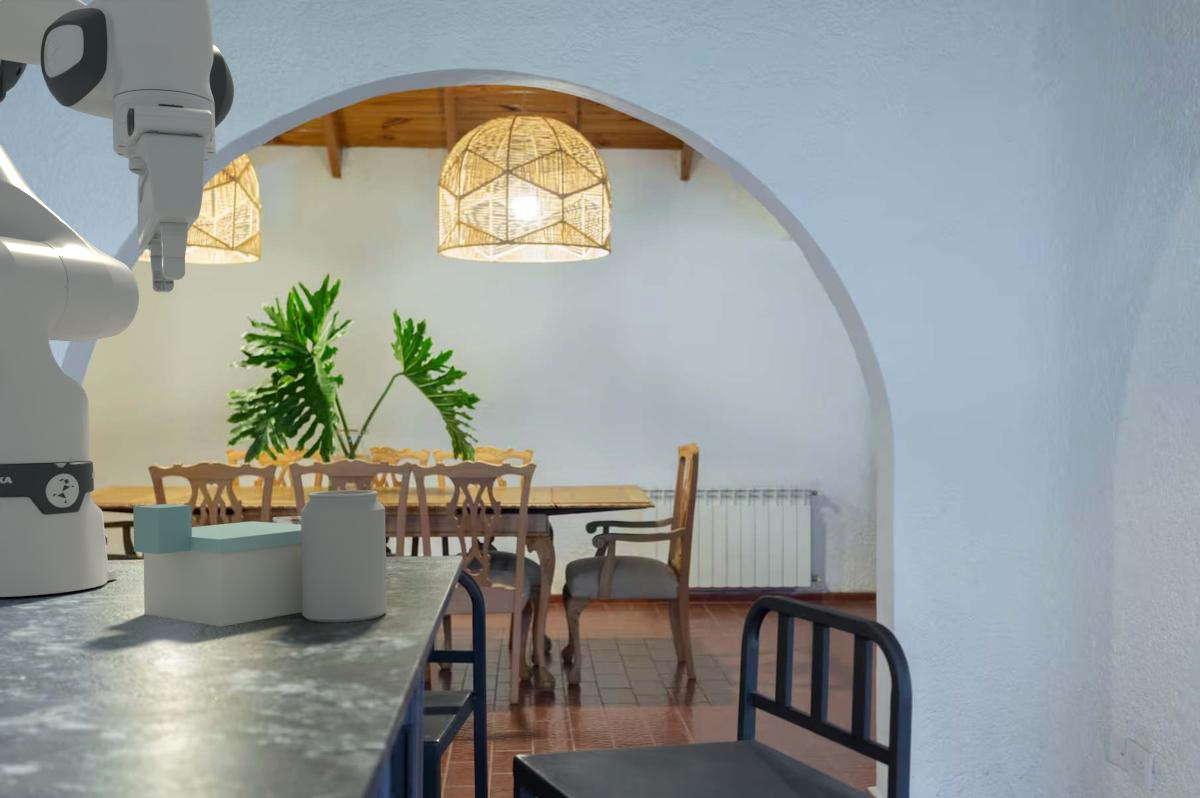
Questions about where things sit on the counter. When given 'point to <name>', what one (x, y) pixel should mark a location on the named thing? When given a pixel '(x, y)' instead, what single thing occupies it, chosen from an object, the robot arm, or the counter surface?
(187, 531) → the lid
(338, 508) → the can
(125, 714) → the counter surface
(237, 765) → the counter surface
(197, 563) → the tub
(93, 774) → the counter surface
